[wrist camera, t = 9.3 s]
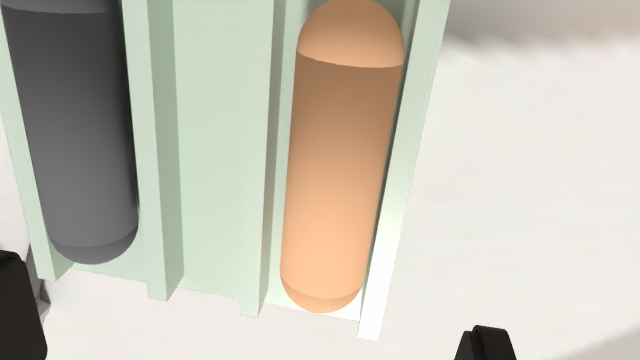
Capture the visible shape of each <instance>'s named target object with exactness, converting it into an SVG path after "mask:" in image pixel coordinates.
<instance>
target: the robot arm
mask: <svg viewBox="0 0 640 360" xmlns="http://www.w3.org/2000/svg"><path fill="white" fill-rule="evenodd" d="M47 351H48V349H47V344H46V340H45V336H44V332H43V328H42V324H41V320H40V317H39V313H38V309H37V305H36V301H35V297H34V293H33V289H32V285H31V281H30V278H29V274H28V270H27V266H26V264H25V262H24V261H22V260H21V258H20V256H19V255H18V254H17V253H15V252H10V251H4V250H0V360H45V359H46V356H47ZM454 360H517V359H516V356H515V353H514V350H513V347H512V344H511V341H510V338H509V335H508V333H507V331H506V330H505V329H499V328H493V327H487V326H480V325H475V327H474V328H473V330H472V332H471V331H464V333H463V335H462V338H461V341H460V344H459V347H458V350H457V353H456V356H455V359H454Z"/></svg>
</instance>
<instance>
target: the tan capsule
mask: <svg viewBox="0 0 640 360" xmlns="http://www.w3.org/2000/svg"><path fill="white" fill-rule="evenodd" d="M403 63H404V41H403V36H402V33H401V30H400V27H399V26H398V24H397V22H396V20H395V19H394V17H393V16H392V15H391V14H390V13H389V12H388V11H387V10H386V9H385V8H384V7H382V6H381V5H380V4H378V3H376V2H374V1H372V0H330V1H328V2H326V3H324V4H323V5H321V6H320V7H319V8H317V9H316V10H315V11H314V12H313V13H312V14H311V15H310V16H309V17H308V19H307V20H306V22H305V23H304V25H303V26H302V29H301V31H300V34H299V37H298V42H297V48H296V58H295V71H294V85H293V98H292V111H291V125H290V138H289V151H288V165H287V178H286V191H285V204H284V218H283V231H282V244H281V258H280V278H281V282H282V285H283V288H284V290H285V292H286V293H287V295H288V296H289V298H290V299H291V300H292V301H293V302H294V303H295V304H297V305H298V306H299V307H301V308H302V309H304V310H307V311H309V312H313V313H320V314H325V313H332V312H335V311H338V310H340V309H342V308H344V307H346V306H347V305H349V304H350V303H351V302H352V301H353V300H354V299H355V298H356V296H357V295H358V293H359V292H360V290H361V287H362V285H363V282H364V278H365V273H366V267H367V262H368V256H369V251H370V245H371V240H372V234H373V229H374V223H375V218H376V212H377V207H378V201H379V196H380V190H381V185H382V179H383V174H384V168H385V162H386V157H387V151H388V146H389V140H390V135H391V129H392V124H393V118H394V113H395V107H396V102H397V96H398V91H399V85H400V80H401V74H402V69H403Z"/></svg>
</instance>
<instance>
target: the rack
mask: <svg viewBox="0 0 640 360" xmlns="http://www.w3.org/2000/svg"><path fill="white" fill-rule="evenodd" d="M328 1H330V0H118V4H119V11H120V22H121V32H122V43H123V54H124V65H125V76H126V86H127V97H128V108H129V119H130V130H131V140H132V151H133V162H134V173H135V184H136V194H137V205H138V216H139V224H138V231H137V234H136V237H135V239H134V241H133V243H132V244H131V246H130V247H129V248H128V249H127V250H126V251H125V252H124V253H123V254H122V255H120V256H119V257H117V258H115V259H113V260H111V261H109V262H106V263H102V264H96V265H87V264H80V263H76V262H73V261H71V260H69V259H67V258H65V257H64V256H63V255H61V254H60V253H59V252H58V251H57V250H56V249H55V247H54V246H53V244H52V243H51V241H50V239H49V236H48V232H47V228H46V223H45V218H44V213H43V208H42V203H41V198H40V193H39V188H38V183H37V178H36V173H35V168H34V163H33V158H32V153H31V148H30V143H29V138H28V133H27V128H26V123H25V118H24V113H23V108H22V104H21V99H20V94H19V89H18V84H17V79H16V74H15V69H14V64H13V59H12V54H11V49H10V44H9V39H8V34H7V29H6V24H5V19H4V14H3V9H2V4H1V0H0V111H1V115H2V120H3V124H4V128H5V133H6V137H7V142H8V146H9V151H10V155H11V160H12V164H13V168H14V173H15V177H16V182H17V186H18V191H19V195H20V200H21V204H22V209H23V213H24V217H25V222H26V226H27V231H28V235H29V240H30V244H31V249H32V253H33V258H34V262H35V266H36V271H37V275H38V278H40V279H45V280H51V281H57V280H58V279H59V278H60V277H61V276H62V275H63V274H64V273H65V272H66V271H67V270H68V269H69V268H70V269H75V270H81V271H86V272H92V273H97V274H103V275H109V276H114V277H120V278H125V279H131V280H136V281H142V282H147V289H148V298H149V299H155V300H160V301H166V302H167V301H168V299H169V298H170V296H171V295H172V293H173V292H174V290H175V289H176V288H181V289H186V290H192V291H197V292H203V293H209V294H214V295H220V296H225V297H231V298H236V299H239V315H242V316H248V317H253V318H258V316H259V313H260V311H261V308H262V305H263V303H264V304H270V305H275V306H281V307H286V308H292V309H298V310H303V311H307V310H304V309H302V308H301V307H299V306H298V305H297V304H295V303H294V302H293V301H292V300H291V299H290V298H289V296H288V295H287V293H286V292H285V290H284V288H283V285H282V282H281V278H280V258H281V244H282V231H283V218H284V204H285V191H286V178H287V165H288V151H289V138H290V125H291V111H292V98H293V85H294V71H295V58H296V48H297V42H298V37H299V34H300V31H301V29H302V26H303V25H304V23H305V22H306V20H307V19H308V17H309V16H310V15H311V14H312V13H313V12H314V11H315V10H316V9H317V8H319V7H320V6H321V5H323V4H324V3H326V2H328ZM372 1H374V2H376V3H378V4H380V5H381V6H382V7H384V8H385V9H386V10H387V11H388V12H389V13H390V14H391V15H392V16H393V17H394V19H395V20H396V22H397V24H398V26H399V27H400V30H401V33H402V36H403V41H404V63H403V69H402V74H401V80H400V85H399V91H398V96H397V102H396V107H395V113H394V118H393V124H392V129H391V135H390V140H389V146H388V151H387V157H386V162H385V168H384V174H383V179H382V185H381V190H380V196H379V201H378V207H377V212H376V218H375V223H374V229H373V234H372V240H371V245H370V251H369V256H368V262H367V267H366V273H365V278H364V282H363V285H362V287H361V290H360V292H359V293H358V295H357V296H356V298H355V299H354V300H353V301H352V302H351V303H350V304H349V305H347V306H346V307H344V308H342V309H340V310H338V311H335V312H332V313H325V315H331V316H336V317H342V318H348V319H353V320H359V327H358V337H362V338H368V339H373V340H378V336H379V332H380V327H381V322H382V318H383V313H384V308H385V304H386V299H387V294H388V290H389V285H390V280H391V276H392V271H393V266H394V262H395V257H396V252H397V248H398V243H399V238H400V234H401V229H402V224H403V220H404V215H405V210H406V206H407V201H408V196H409V192H410V187H411V182H412V178H413V173H414V168H415V164H416V159H417V154H418V150H419V145H420V140H421V136H422V131H423V126H424V122H425V117H426V112H427V108H428V103H429V98H430V94H431V89H432V84H433V80H434V75H435V70H436V66H437V61H438V56H439V52H440V47H441V42H442V38H443V33H444V28H445V23H446V19H447V14H448V9H449V5H450V0H372Z"/></svg>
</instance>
